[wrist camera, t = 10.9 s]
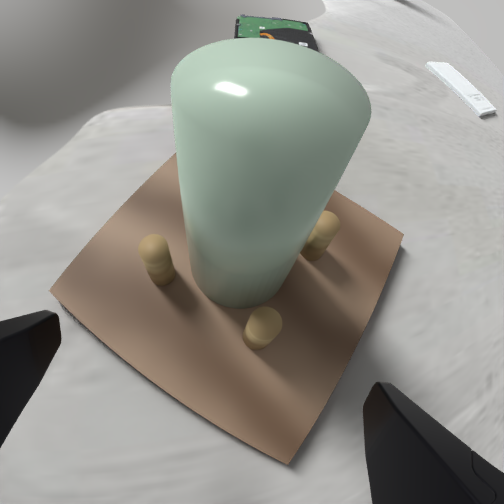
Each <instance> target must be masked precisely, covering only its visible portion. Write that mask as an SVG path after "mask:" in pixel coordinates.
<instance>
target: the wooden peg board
mask: <svg viewBox="0 0 504 504" xmlns="http://www.w3.org/2000/svg"><path fill="white" fill-rule="evenodd" d="M403 235H404V234H403V233H401V232H400V231H398V230H397V229H395V228H394V227H392V226H391V225H389V224H388V223H386V222H385V221H383V220H381V219H380V218H378V217H377V216H375V215H374V214H372V213H371V212H369V211H367V210H366V209H364V208H363V207H361V206H359V205H358V204H356V203H355V202H353V201H351V200H350V199H348V198H346V197H345V196H343V195H342V194H340V193H338V192H337V191H335V190H334V192H333V193H332V195H331V197H330V199H329V201H328V203H327V205H326V207H325V208H324V210H323V212H322V214H321V216H320V218H319V219H318V221H317V223H316V225H315V227H314V229H313V230H312V232H311V234H310V236H309V238H308V240H307V241H306V243H305V245H304V247H303V249H302V250H301V252H300V254H299V256H298V258H297V259H296V261H295V263H294V265H293V266H292V268H291V270H290V272H289V273H288V275H287V277H286V279H285V280H284V282H283V284H282V286H281V287H280V289H279V290H278V292H277V293H276V294H275V295H274V296H273V297H272V298H270V299H269V300H268V301H266V302H264V303H263V304H260V305H258V306H255V307H251V308H244V309H236V308H229V307H225V306H222V305H220V304H217V303H216V302H214V301H212V300H211V299H209V298H208V297H207V296H206V295H205V294H204V293H203V292H202V291H201V290H200V289H199V287H198V286H197V284H196V282H195V280H194V278H193V275H192V271H191V265H190V259H189V252H188V245H187V238H186V231H185V224H184V216H183V208H182V200H181V192H180V184H179V175H178V166H177V156H176V153H175V154H174V155H173V156H172V157H171V158H170V159H169V160H168V161H166V162H165V163H164V164H163V165H162V166H161V167H160V168H159V169H158V170H157V171H156V172H155V173H154V174H153V175H152V176H151V177H150V178H149V179H148V180H147V181H146V182H145V183H144V184H143V185H142V186H141V187H140V188H139V189H138V190H137V191H136V192H135V193H134V194H133V195H132V196H131V197H130V198H129V199H128V200H127V201H126V202H125V203H124V204H123V205H122V206H121V207H120V208H119V209H118V210H117V211H116V213H115V214H114V215H113V216H112V217H111V218H110V219H109V220H108V221H107V222H106V223H105V224H104V226H103V227H102V228H101V229H100V230H99V231H98V232H97V233H96V234H95V236H94V237H93V238H92V239H91V240H90V241H89V242H88V244H87V245H86V246H85V247H84V248H83V249H82V251H81V252H80V253H79V254H78V255H77V256H76V258H75V259H74V260H73V261H72V262H71V264H70V265H69V266H68V267H67V269H66V270H65V271H64V272H63V273H62V275H61V276H60V277H59V278H58V280H57V281H56V282H55V284H54V285H53V286H52V287H51V289H50V290H49V291H50V292H51V293H52V294H53V296H54V297H55V298H56V299H57V300H58V301H59V302H60V303H61V304H62V305H64V306H65V307H66V308H67V309H68V310H69V311H70V312H71V313H72V314H73V315H74V316H75V317H76V318H77V319H78V320H79V321H80V322H81V323H82V324H84V325H85V326H86V327H87V328H88V329H89V330H90V331H91V332H92V333H93V334H95V335H96V336H97V337H98V338H99V339H100V340H101V341H103V342H104V343H105V344H106V345H107V346H108V347H110V348H111V349H112V350H113V351H114V352H115V353H117V354H118V355H119V356H120V357H122V358H123V359H124V360H125V361H126V362H128V363H129V364H130V365H131V366H133V367H134V368H135V369H136V370H138V371H139V372H140V373H142V374H143V375H144V376H146V377H147V378H148V379H149V380H151V381H152V382H153V383H155V384H156V385H158V386H159V387H160V388H162V389H163V390H164V391H166V392H167V393H169V394H170V395H171V396H173V397H174V398H176V399H177V400H179V401H180V402H181V403H183V404H184V405H186V406H187V407H189V408H190V409H192V410H193V411H195V412H196V413H198V414H199V415H201V416H202V417H204V418H206V419H207V420H209V421H210V422H212V423H213V424H215V425H217V426H218V427H220V428H222V429H223V430H225V431H226V432H228V433H230V434H232V435H233V436H235V437H237V438H238V439H240V440H242V441H244V442H245V443H247V444H249V445H251V446H252V447H254V448H256V449H258V450H260V451H262V452H263V453H265V454H267V455H269V456H271V457H273V458H275V459H277V460H279V461H281V462H283V463H285V464H287V465H288V464H289V462H290V461H291V459H292V458H293V456H294V455H295V453H296V452H297V450H298V449H299V447H300V446H301V444H302V443H303V441H304V439H305V438H306V436H307V435H308V433H309V431H310V430H311V428H312V426H313V425H314V423H315V422H316V420H317V418H318V417H319V415H320V413H321V411H322V410H323V408H324V406H325V405H326V403H327V401H328V399H329V397H330V396H331V394H332V392H333V390H334V389H335V387H336V385H337V383H338V381H339V379H340V377H341V376H342V374H343V372H344V370H345V368H346V366H347V364H348V362H349V360H350V358H351V356H352V354H353V352H354V350H355V348H356V346H357V344H358V342H359V340H360V338H361V336H362V334H363V332H364V330H365V328H366V325H367V323H368V321H369V319H370V317H371V315H372V312H373V310H374V308H375V306H376V303H377V301H378V299H379V296H380V294H381V292H382V289H383V287H384V285H385V282H386V280H387V277H388V275H389V272H390V270H391V267H392V265H393V262H394V260H395V257H396V254H397V252H398V249H399V246H400V244H401V241H402V238H403Z"/></svg>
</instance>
